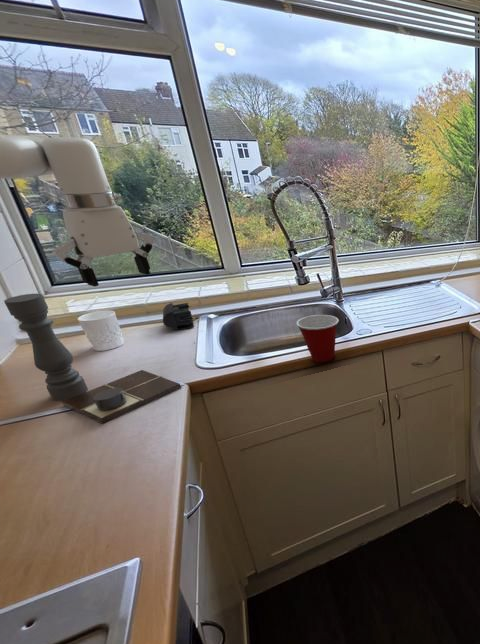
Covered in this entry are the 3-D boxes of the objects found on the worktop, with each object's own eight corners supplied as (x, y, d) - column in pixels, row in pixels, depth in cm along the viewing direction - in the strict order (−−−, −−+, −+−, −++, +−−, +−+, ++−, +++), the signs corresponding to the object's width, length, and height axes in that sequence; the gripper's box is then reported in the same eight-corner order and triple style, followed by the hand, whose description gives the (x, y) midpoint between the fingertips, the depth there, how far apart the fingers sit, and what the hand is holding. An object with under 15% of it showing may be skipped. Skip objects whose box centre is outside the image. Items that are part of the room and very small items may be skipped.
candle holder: (92, 391, 100) (48, 296, 90) (57, 403, 95) (6, 305, 85) (82, 383, 103) (39, 291, 93) (48, 395, 98) (-2, 299, 88)
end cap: (167, 323, 138) (160, 304, 135) (192, 318, 142) (187, 300, 139) (166, 333, 130) (160, 314, 128) (194, 328, 134) (188, 309, 132)
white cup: (127, 337, 127) (115, 308, 123) (126, 347, 121) (114, 316, 117) (92, 344, 122) (79, 314, 118) (89, 354, 117) (75, 323, 113)
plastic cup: (350, 358, 118) (344, 320, 113) (311, 370, 111) (304, 331, 107) (335, 345, 125) (329, 309, 121) (298, 356, 118) (290, 319, 114)
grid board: (102, 424, 89) (100, 419, 88) (64, 405, 95) (61, 401, 94) (181, 387, 102) (179, 383, 102) (143, 373, 108) (141, 369, 108)
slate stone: (105, 413, 90) (100, 402, 89) (92, 408, 92) (87, 396, 91) (132, 401, 94) (127, 390, 93) (119, 396, 96) (115, 385, 95)
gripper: (129, 196, 94) (153, 267, 101) (24, 205, 79) (60, 287, 86) (148, 198, 91) (172, 271, 98) (43, 208, 77) (79, 293, 83)
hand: (120, 279), depth 92 cm, fingers open, 9 cm apart
